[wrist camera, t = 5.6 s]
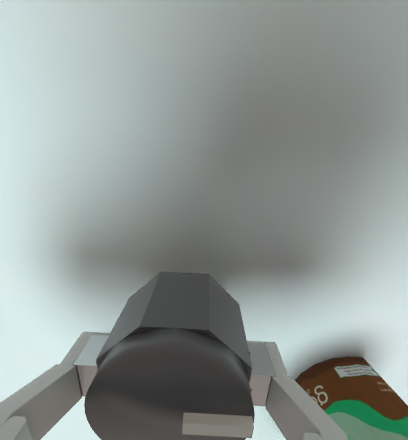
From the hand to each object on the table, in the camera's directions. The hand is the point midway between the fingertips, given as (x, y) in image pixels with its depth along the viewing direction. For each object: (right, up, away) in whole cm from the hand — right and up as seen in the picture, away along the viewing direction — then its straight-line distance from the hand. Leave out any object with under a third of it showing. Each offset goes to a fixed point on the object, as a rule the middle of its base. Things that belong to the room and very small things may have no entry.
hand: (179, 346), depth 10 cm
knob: (0, +1, +2) cm, 2 cm away
